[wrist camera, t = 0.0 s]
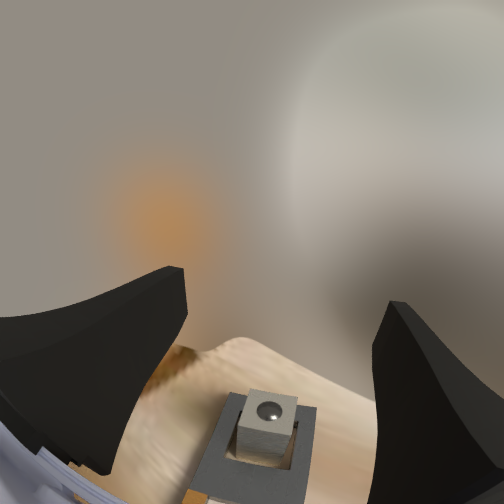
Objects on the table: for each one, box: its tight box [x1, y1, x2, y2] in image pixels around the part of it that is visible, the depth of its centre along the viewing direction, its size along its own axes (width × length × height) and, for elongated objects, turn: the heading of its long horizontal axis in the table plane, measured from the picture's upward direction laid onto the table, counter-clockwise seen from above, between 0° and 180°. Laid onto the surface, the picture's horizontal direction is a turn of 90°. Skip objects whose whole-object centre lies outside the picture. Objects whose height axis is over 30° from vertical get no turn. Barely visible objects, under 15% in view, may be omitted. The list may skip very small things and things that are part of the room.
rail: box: [181, 392, 317, 504], centre depth 18 cm, size 22×10×2 cm, turn 167°
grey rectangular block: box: [236, 389, 298, 466], centre depth 22 cm, size 4×4×7 cm
